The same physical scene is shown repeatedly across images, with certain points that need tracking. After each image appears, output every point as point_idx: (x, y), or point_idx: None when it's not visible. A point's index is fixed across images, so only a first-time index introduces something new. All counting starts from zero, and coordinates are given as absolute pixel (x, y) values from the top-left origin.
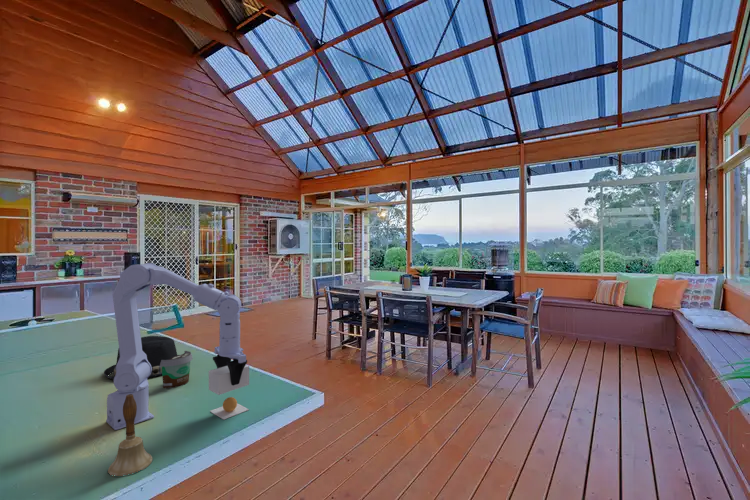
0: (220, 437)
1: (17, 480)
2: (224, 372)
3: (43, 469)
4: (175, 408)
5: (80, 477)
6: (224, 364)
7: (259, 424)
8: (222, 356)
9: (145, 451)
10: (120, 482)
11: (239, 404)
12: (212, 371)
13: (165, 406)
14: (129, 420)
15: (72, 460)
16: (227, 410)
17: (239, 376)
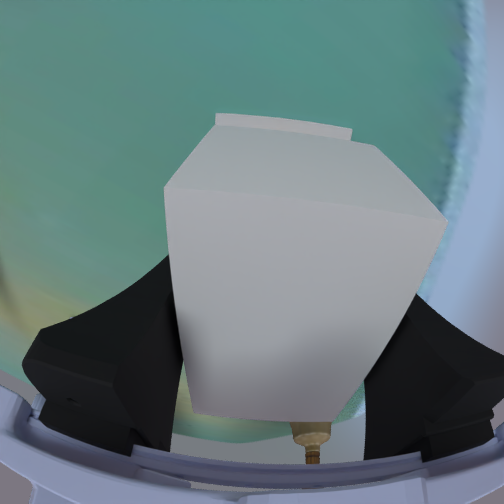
0: None
1: (217, 438)
2: (326, 398)
3: (211, 430)
4: (102, 275)
5: (275, 425)
6: (171, 356)
7: (463, 198)
8: (145, 444)
9: None
10: (339, 413)
11: (263, 117)
12: (228, 413)
13: (73, 281)
14: None
15: (214, 419)
16: None
17: None
